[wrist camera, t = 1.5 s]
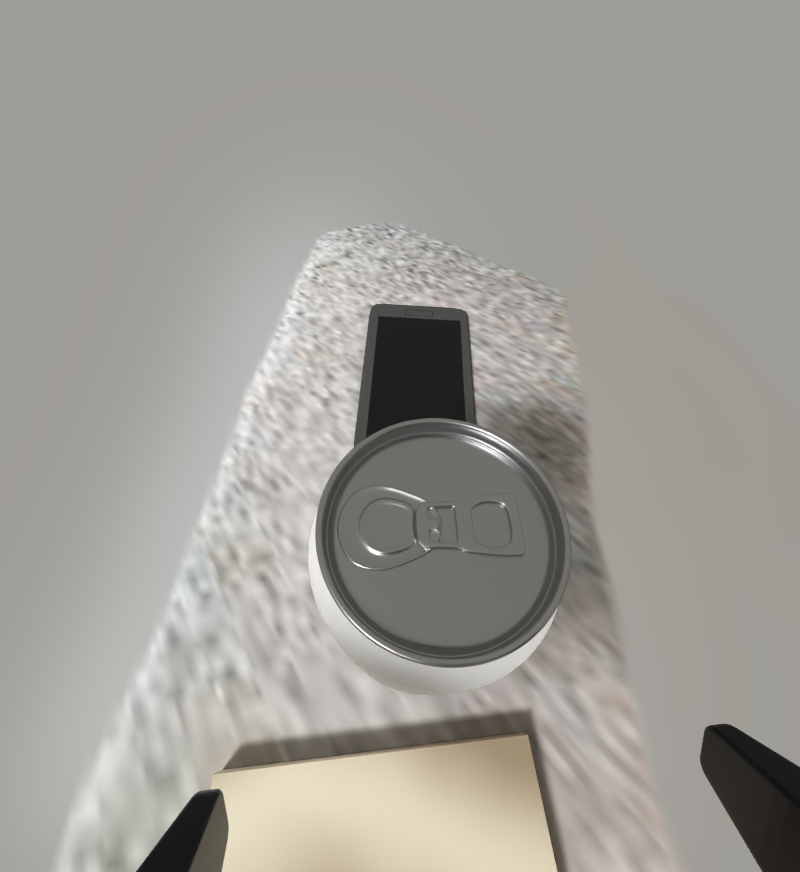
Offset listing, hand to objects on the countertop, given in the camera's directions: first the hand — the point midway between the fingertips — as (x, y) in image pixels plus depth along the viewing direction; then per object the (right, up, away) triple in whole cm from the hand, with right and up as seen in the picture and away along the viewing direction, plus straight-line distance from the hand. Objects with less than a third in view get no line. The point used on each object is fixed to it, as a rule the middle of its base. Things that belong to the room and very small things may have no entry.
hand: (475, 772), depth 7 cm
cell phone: (0, +10, +20) cm, 22 cm away
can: (-1, -2, +12) cm, 12 cm away
